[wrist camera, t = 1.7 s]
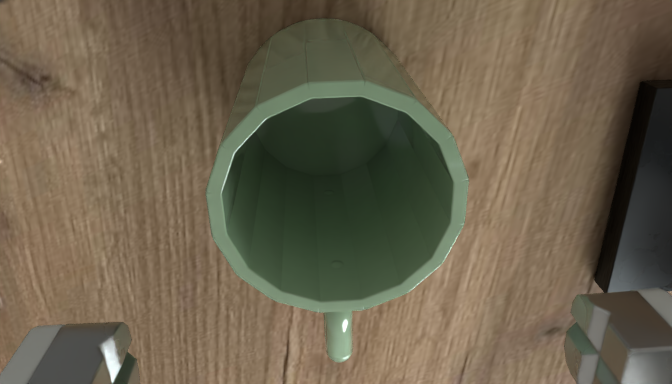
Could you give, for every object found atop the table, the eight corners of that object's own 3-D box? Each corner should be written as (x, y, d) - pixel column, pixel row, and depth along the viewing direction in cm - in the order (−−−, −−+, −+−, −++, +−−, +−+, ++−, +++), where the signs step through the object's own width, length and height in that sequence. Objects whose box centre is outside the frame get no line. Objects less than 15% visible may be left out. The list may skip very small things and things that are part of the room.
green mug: (232, 21, 20) (189, 86, 12) (408, 15, 20) (479, 75, 12) (256, 249, 25) (236, 407, 17) (400, 241, 25) (448, 393, 17)
